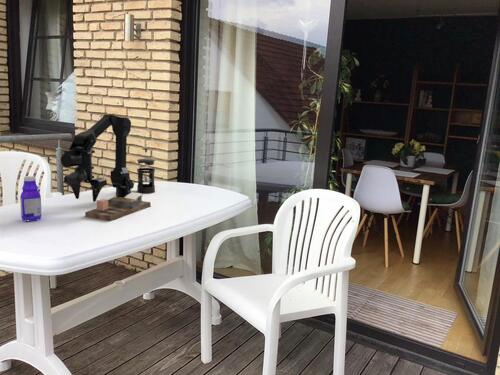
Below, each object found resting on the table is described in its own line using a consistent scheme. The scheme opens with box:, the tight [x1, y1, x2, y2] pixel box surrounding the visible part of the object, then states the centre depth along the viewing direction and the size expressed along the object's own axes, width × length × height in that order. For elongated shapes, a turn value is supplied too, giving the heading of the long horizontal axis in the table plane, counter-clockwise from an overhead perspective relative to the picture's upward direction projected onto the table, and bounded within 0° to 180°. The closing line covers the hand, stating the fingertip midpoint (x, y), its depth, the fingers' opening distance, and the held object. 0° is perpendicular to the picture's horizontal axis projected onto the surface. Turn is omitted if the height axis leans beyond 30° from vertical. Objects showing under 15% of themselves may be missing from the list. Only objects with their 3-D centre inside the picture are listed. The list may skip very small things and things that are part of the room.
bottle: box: [19, 175, 42, 221], centre depth 179 cm, size 7×6×17 cm
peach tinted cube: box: [96, 198, 108, 210], centre depth 192 cm, size 3×4×4 cm
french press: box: [136, 147, 156, 195], centre depth 237 cm, size 12×9×23 cm
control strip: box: [84, 194, 152, 222], centre depth 198 cm, size 13×28×5 cm, turn 158°
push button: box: [110, 196, 137, 203], centre depth 201 cm, size 11×4×2 cm, turn 68°
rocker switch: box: [124, 191, 144, 200], centre depth 207 cm, size 6×6×1 cm
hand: (85, 200), depth 195 cm, fingers open, 9 cm apart
